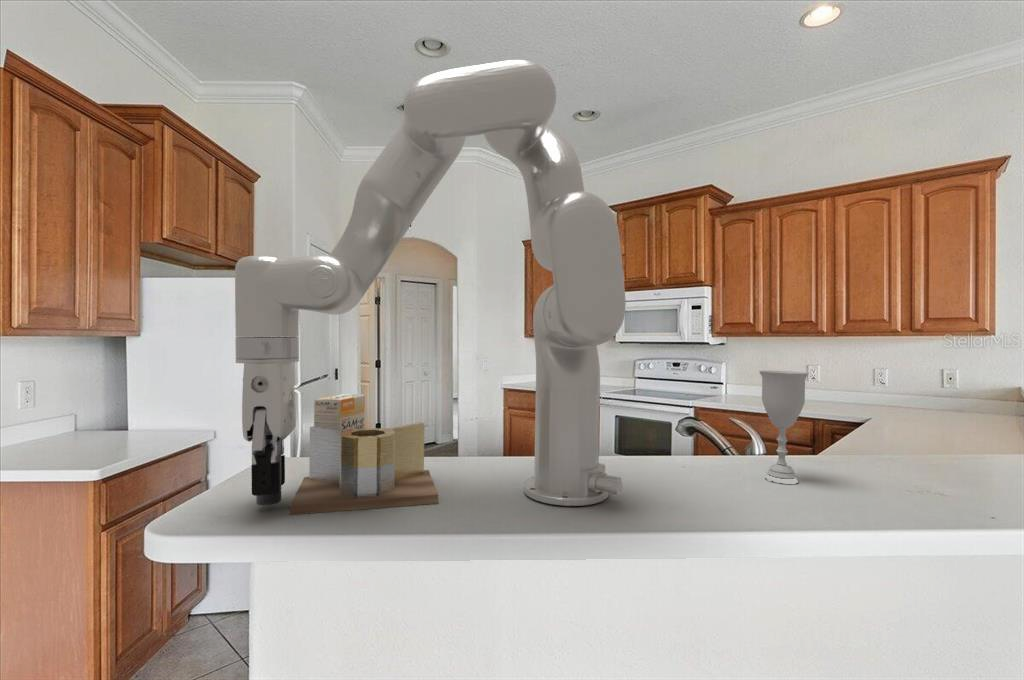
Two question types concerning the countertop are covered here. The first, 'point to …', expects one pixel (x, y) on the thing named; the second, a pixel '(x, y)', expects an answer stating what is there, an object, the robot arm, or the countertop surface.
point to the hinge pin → (276, 498)
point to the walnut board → (330, 499)
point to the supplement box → (340, 411)
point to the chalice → (783, 410)
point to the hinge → (366, 457)
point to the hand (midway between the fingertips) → (268, 488)
